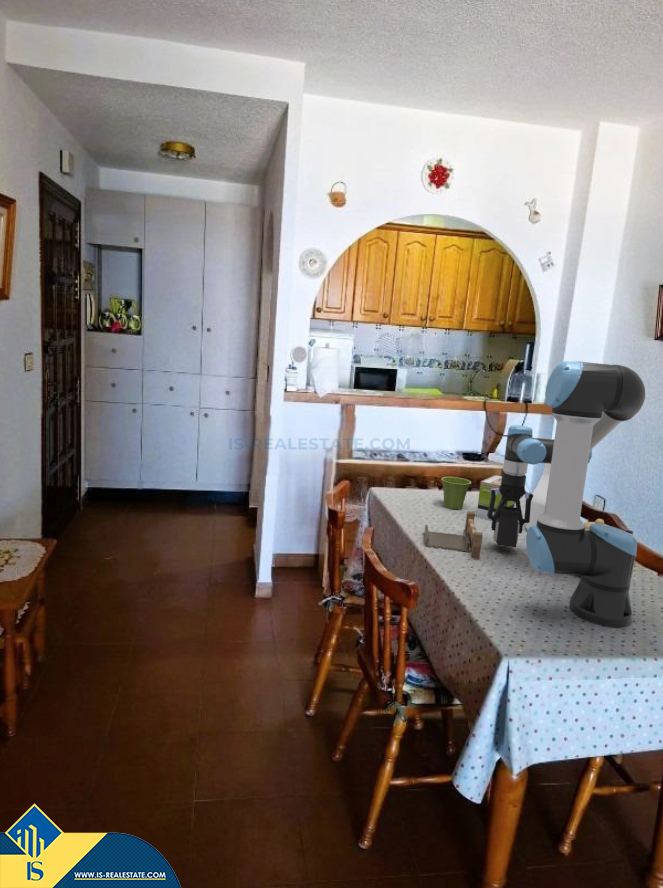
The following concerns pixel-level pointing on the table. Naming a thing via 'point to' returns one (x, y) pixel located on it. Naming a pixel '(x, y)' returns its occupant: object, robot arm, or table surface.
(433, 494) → the table surface
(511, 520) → the phone stand
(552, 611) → the table surface
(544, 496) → the wine bottle
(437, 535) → the keeper plate
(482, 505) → the tea box
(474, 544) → the door pull handle
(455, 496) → the plant pot
